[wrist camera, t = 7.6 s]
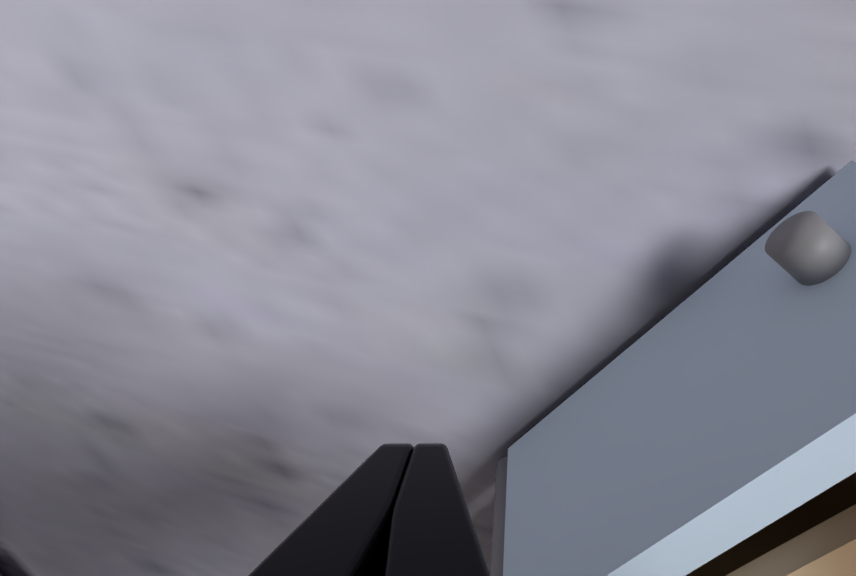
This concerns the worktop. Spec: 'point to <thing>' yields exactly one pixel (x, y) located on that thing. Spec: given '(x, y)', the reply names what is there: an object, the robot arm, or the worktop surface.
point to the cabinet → (798, 541)
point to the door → (700, 416)
